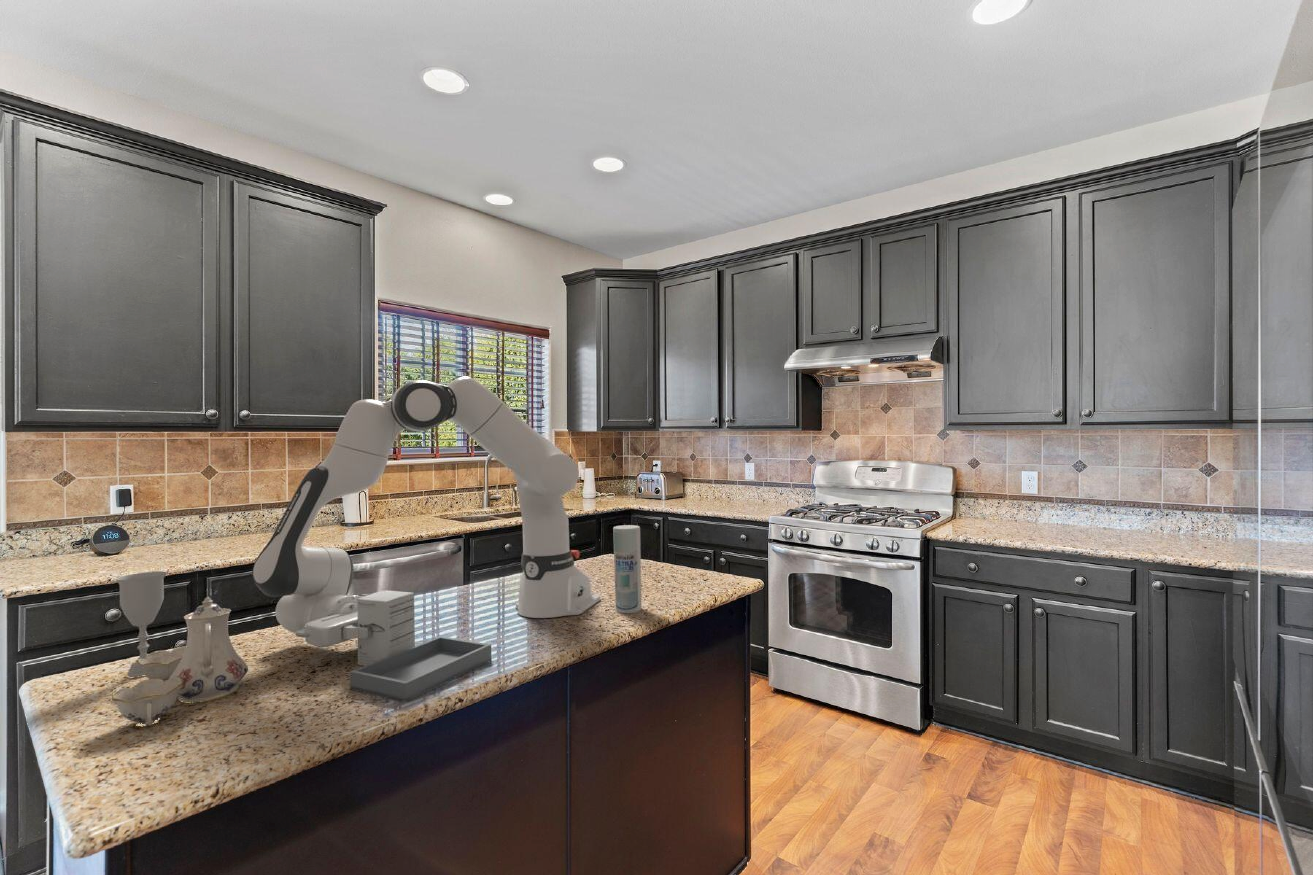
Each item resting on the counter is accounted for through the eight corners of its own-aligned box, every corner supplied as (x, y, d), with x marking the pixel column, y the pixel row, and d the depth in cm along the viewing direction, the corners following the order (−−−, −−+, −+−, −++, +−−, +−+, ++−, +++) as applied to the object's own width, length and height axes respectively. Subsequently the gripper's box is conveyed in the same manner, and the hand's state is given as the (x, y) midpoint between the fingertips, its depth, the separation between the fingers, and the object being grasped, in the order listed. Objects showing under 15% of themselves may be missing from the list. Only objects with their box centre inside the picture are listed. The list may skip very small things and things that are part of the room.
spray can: (611, 612, 145) (609, 528, 145) (619, 605, 152) (617, 524, 152) (638, 613, 144) (635, 529, 144) (645, 606, 150) (643, 525, 150)
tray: (440, 651, 121) (440, 636, 121) (491, 660, 115) (491, 644, 115) (350, 689, 103) (350, 671, 103) (405, 702, 97) (405, 683, 97)
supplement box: (356, 666, 114) (355, 598, 114) (386, 652, 121) (385, 588, 121) (387, 670, 111) (386, 601, 111) (416, 656, 118) (415, 591, 118)
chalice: (166, 662, 118) (164, 569, 118) (171, 671, 113) (169, 574, 113) (116, 673, 113) (114, 576, 113) (118, 683, 108) (116, 581, 108)
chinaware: (134, 692, 108) (120, 600, 108) (246, 660, 118) (234, 576, 117) (113, 755, 86) (94, 640, 85) (254, 710, 96) (239, 606, 95)
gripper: (289, 616, 113) (339, 624, 106) (382, 590, 131) (430, 596, 125) (290, 650, 113) (340, 660, 106) (383, 620, 131) (430, 627, 125)
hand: (389, 625), depth 116 cm, fingers closed on supplement box, 8 cm apart
